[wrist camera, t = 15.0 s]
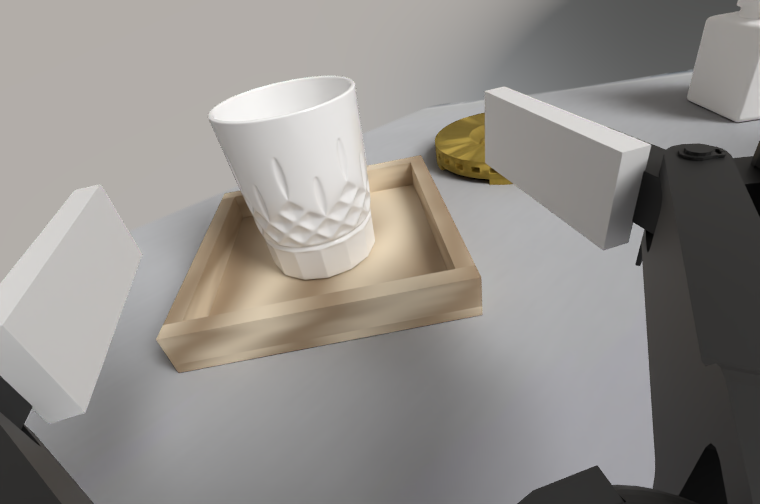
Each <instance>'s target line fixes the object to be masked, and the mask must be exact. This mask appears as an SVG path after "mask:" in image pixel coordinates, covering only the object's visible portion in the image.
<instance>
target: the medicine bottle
mask: <svg viewBox="0 0 760 504" xmlns="http://www.w3.org/2000/svg"><path fill="white" fill-rule="evenodd" d="M737 6H739V7H741V9H740V11H738V12H732V13H727V14H721V15H716V16H711V17H709V18H708V19H707V21H706V23H705V27H704V32H703V35H702V39H701V43H700V47H699V51H698V55H697V59H696V63H695V67H694V71H693V75H692V79H691V83H690V87H689V91H688V95H687V99H688V100H689V101H691V102H693V103H695V104H697V105H700V106H702V107H704V108H706V109H708V110H711V111H713V112H715V113H717V114H719V115H722V116H724V117H726V118H728V119H730V120H732V121H735V122H744V121H751V120H757V119H760V0H738V3H737Z"/></svg>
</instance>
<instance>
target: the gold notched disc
mask: <svg viewBox="0 0 760 504" xmlns="http://www.w3.org/2000/svg"><path fill="white" fill-rule="evenodd" d="M435 147H436V158H437V164H438V166H439V168H440V169H441V170H445V169H447V170H449V171H451V172H453V173H456V174H459V175H462V176H467V177H472V178H479V179H489V180H490V185H506V184H513V183H512V182H510V181H509V180H508V179H506V178H505V177H503V176H502V175H501V174H499V173H498V172H497V171H495V170H494V169H493V168H491V167H490V166H489V165H487V164H486V163H485V113H481V114H477V115H473V116H469V117H466V118H463V119H460V120H458V121H455V122H453V123H451V124H449V125H448V126H446V127H445V128H443V129H442V130H441V131H440V132H439V133H438V134H437V136H436V138H435Z"/></svg>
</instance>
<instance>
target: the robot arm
mask: <svg viewBox="0 0 760 504" xmlns="http://www.w3.org/2000/svg"><path fill="white" fill-rule="evenodd" d="M485 163H486V164H487V165H489V166H490V167H491V168H493V169H494V170H495V171H497V172H498V173H499V174H501V175H502V176H503V177H505V178H506V179H508V180H509V181H510V182H512V183H513V184H514V185H516V186H517V187H518V188H520V189H521V190H522V191H524V192H525V193H526V194H528V195H529V196H531V197H532V198H533V199H535V200H536V201H537V202H539V203H540V204H541V205H543V206H544V207H545V208H547V209H548V210H549V211H551V212H552V213H554V214H555V215H556V216H558V217H559V218H560V219H562V220H563V221H564V222H566V223H567V224H568V225H570V226H571V227H572V228H574V229H575V230H577V231H578V232H579V233H581V234H582V235H583V236H585V237H586V238H587V239H589V240H590V241H591V242H593V243H594V244H595V245H597V246H598V247H599V248H601V249H602V250H606V249H609V248H612V247H616V246H619V245H622V244H625V243H628V242H629V238H630V233H631V229H632V225H633V222H634V223H635V224H637V225H639V226H640V227H642V228H644V229H645V230H644V234H643V237H642V241H641V245H640V249H639V253H638V257H637V261H636V265H637V266H640V265H641V263H642V261H643V277H644V293H645V308H646V324H647V339H648V355H649V371H650V386H651V402H652V418H653V433H654V449H655V478H654V484H653V489H651V488H645V487H639V486H628V485H611V483H610V482H609V481H608V479H607V478H606V476H605V475H604V474H603V472H602V471H601V470H600V468H599V467H598V466H594V467H592V468H589V469H587V470H584V471H581V472H579V473H576V474H574V475H571V476H569V477H566V478H564V479H561V480H559V481H556V482H554V483H551V484H549V485H546V486H544V487H541V488H538V489H536V490H533V491H532V492H531V493H530V494H528V495H527V496H526V497H525V498H524V499H522V500H521V501H520V502H519V503H518V504H760V141H759V144H758V146H757V149H756V151H755V154H754V156H751V157H741V158H732V156H731V155H730V154H729V153H728V152H727V151H725V150H723V149H721V148H718V147H714V146H709V145H705V144H681V145H676V146H672V147H670V148H668V149H666V150H665V149H662V148H660V147H657V146H655V145H652V144H650V143H647V142H645V141H642V140H640V139H637V138H633V137H632V136H629V135H627V134H623V133H622V132H619V131H617V130H614V129H612V128H609V127H605V126H603V125H600V124H598V123H595V122H593V121H590V120H588V119H585V118H583V117H580V116H578V115H575V114H573V113H570V112H568V111H565V110H562V109H560V108H557V107H555V106H552V105H550V104H547V103H545V102H542V101H540V100H537V99H535V98H532V97H530V96H527V95H525V94H522V93H519V92H517V91H514V90H512V89H509V88H507V87H500V88H496V89H492V90H487V91H485ZM142 255H143V254H142V253H141V251H140V249H139V248H138V246H137V244H136V243H135V241H134V239H133V238H132V236H131V234H130V233H129V231H128V229H127V227H126V226H125V224H124V222H123V221H122V219H121V217H120V216H119V214H118V212H117V211H116V209H115V207H114V206H113V204H112V202H111V201H110V199H109V197H108V195H107V194H106V192H105V190H104V189H103V187H102V186H101V184H98V185H94V186H90V187H86V188H82V189H78V190H75V191H74V192H73V193H72V194H71V196H70V197H69V198H68V199H67V201H66V202H65V203H64V204H63V206H62V207H61V208H60V209H59V211H58V212H57V213H56V214H55V216H54V217H53V218H52V219H51V221H50V222H49V223H48V225H47V226H46V227H45V228H44V229H43V231H42V232H41V233H40V234H39V236H38V237H37V238H36V239H35V241H34V242H33V243H32V244H31V246H30V247H29V248H28V250H27V251H26V252H25V253H24V255H23V256H22V257H21V258H20V259H19V261H18V262H17V263H16V264H15V266H14V267H13V268H12V269H11V271H10V272H9V273H8V275H7V276H6V277H5V278H4V280H3V281H2V282H1V283H0V504H94V503H93V502H92V501H91V500H90V499H89V497H88V496H87V495H86V494H85V493H84V492H83V490H82V489H81V488H80V487H79V486H78V484H77V483H76V482H75V481H74V480H73V479H72V477H71V476H70V475H69V474H68V473H67V472H66V470H65V469H64V468H63V467H62V466H61V464H60V463H59V462H58V461H57V460H56V459H55V457H54V456H53V455H52V454H51V453H50V452H49V450H48V449H47V448H46V447H45V446H44V444H43V443H42V442H41V441H40V440H39V439H38V437H37V436H36V435H35V434H34V433H33V432H32V431H31V430H30V429H28V428H27V427H26V426H25V425H24V423H25V421H26V419H27V417H28V415H29V413H30V411H31V408H32V409H33V410H34V411H35V412H36V413H37V414H38V415H40V416H41V417H42V418H43V419H44V420H45V421H46V422H47V423H48V424H51V423H54V422H58V421H61V420H64V419H67V418H70V417H74V416H77V415H80V414H83V413H86V410H87V407H88V405H89V402H90V399H91V396H92V393H93V391H94V388H95V385H96V382H97V380H98V377H99V374H100V371H101V368H102V366H103V363H104V360H105V357H106V355H107V352H108V349H109V346H110V344H111V341H112V338H113V335H114V332H115V330H116V327H117V324H118V321H119V319H120V316H121V313H122V310H123V308H124V305H125V302H126V299H127V296H128V294H129V291H130V288H131V285H132V283H133V280H134V277H135V274H136V271H137V269H138V266H139V263H140V260H141V258H142Z"/></svg>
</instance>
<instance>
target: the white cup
mask: <svg viewBox="0 0 760 504" xmlns="http://www.w3.org/2000/svg"><path fill="white" fill-rule="evenodd" d="M208 119H209V121H210V123H211V126H212V128H213V130H214V132H215V134H216V137H217V139H218V141H219V143H220V146H221V148H222V150H223V152H224V155H225V157H226V159H227V161H228V163H229V166H230V168H231V170H232V173H233V175H234V177H235V180H236V182H237V184H238V186H239V189H240V191H241V193H242V195H243V197H244V199H245V202H246V204H247V206H248V208H249V209H250V211H251V213H252V215H253V218H254V221H255V223H256V225H257V227H258V229H259V231H260V232H261V234H262V236H263V237H264V239H265V241H266V243H267V246H268V248H269V250H270V253H271V255H272V257H273V260H274V262H275V264H276V265H277V266H278V267H279V269H280V270H281V271H282V272H283V273H284V274H285V275H287V276H291V277H295V278H299V279H303V280H310V279H321V278H329V277H332V276H335V275H338V274H340V273H343V272H345V271H348V270H351V269H352V268H354V267H355V266H356V265H358V264H359V263H360V262H362V261H363V260H364V259H365V258H367V257H368V256H369V254H370V252H371V250H372V248H373V246H374V244H375V236H374V230H373V223H372V217H371V209H370V202H371V197H370V188H369V180H368V174H367V163H366V155H365V148H364V141H363V135H362V129H361V121H360V114H359V108H358V101H357V93H356V87H355V82H354V81H353V80H352V79H350V78H347V77H342V76H316V77H307V78H300V79H293V80H288V81H283V82H279V83H274V84H270V85H266V86H263V87H259V88H256V89H253V90H250V91H247V92H244V93H241V94H239V95H236V96H233V97H231V98H229V99H227V100H225V101H223V102H221V103H220V104H218V105H216V106H215V107H214V108H212V109H211V110H210V111H209V113H208Z"/></svg>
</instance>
